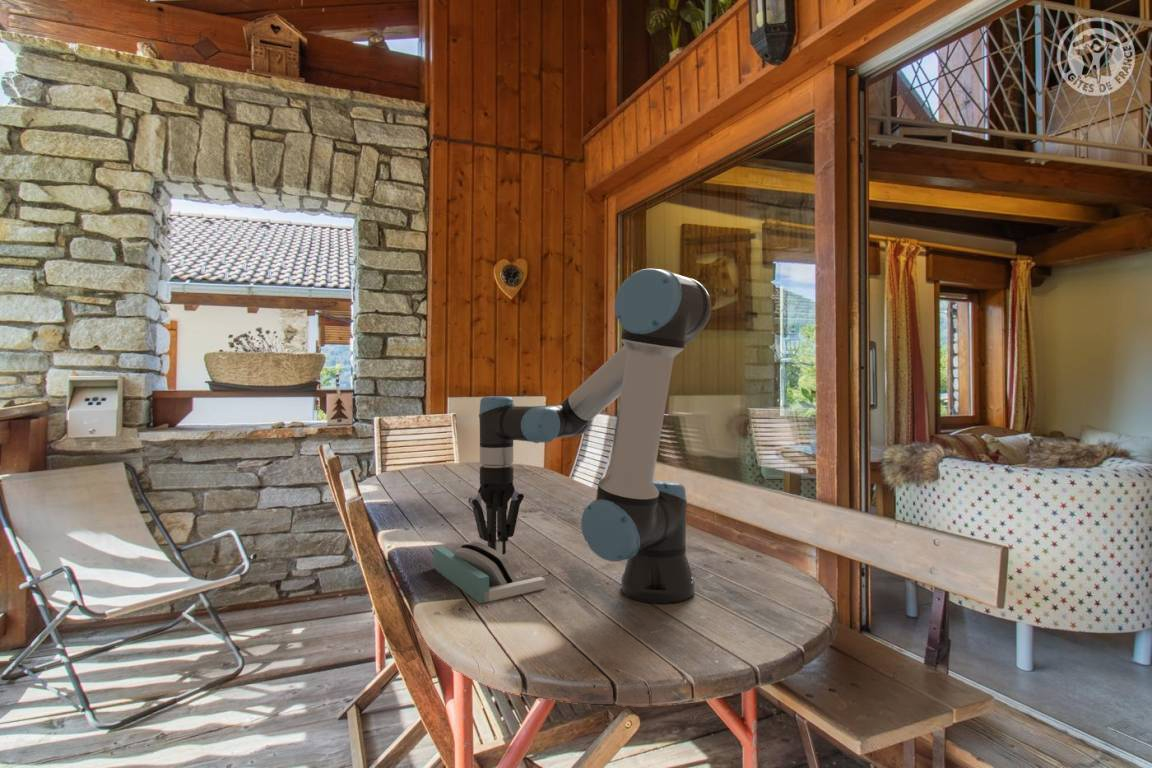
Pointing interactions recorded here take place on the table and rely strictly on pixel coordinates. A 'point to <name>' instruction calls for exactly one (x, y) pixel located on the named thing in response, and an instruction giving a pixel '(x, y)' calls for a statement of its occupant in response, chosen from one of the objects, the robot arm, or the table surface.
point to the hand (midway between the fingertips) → (496, 569)
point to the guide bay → (478, 578)
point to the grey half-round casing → (487, 563)
